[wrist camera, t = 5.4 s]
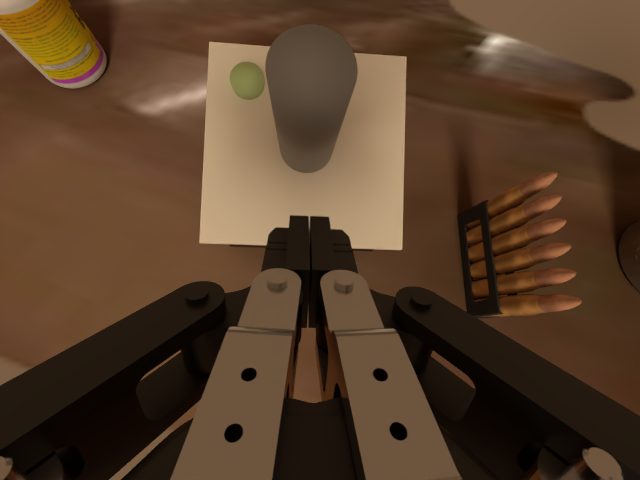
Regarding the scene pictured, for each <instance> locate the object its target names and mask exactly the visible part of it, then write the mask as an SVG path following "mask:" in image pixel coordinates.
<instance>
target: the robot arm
mask: <svg viewBox="0 0 640 480" xmlns="http://www.w3.org/2000/svg"><path fill="white" fill-rule="evenodd" d="M618 251H619V260H620V263H621V266H622V269H623V271H624V273H625V275H626V276H627V278H628V279H629V281H630V282H631V283H632V285H633V286H634V287H635V288H636V289H637V290H638V291H639V292H640V221H639V222H636V223H634V224H632V225H630V226H629V227H628V228H627V229H626V230H625V231H624V233H623V234H622V236H621V239H620V242H619V250H618ZM308 310H309V328H316V342H315V352H316V359H317V367H318V375H319V382H320V390H321V398H322V402H318V403H308V402H304V401H300V400H296V399H293V393H294V384H295V375H296V366H297V358H298V348H299V342H300V340H301V328H307V315H308ZM180 349H181V353H179V354H178V355H176V356H175V357H174V358H172V359H171V360H169V361H168V362H167V363H165V364H164V365H162V366H161V367H159V368H158V369H157V370H155V371H154V372H152V373H151V374H150V375H148V376H147V377H145V378H144V379H143V380H141V378H142V377H143V376H144V375H145V374H146V373H148V372H149V371H150V370H152V369H153V368H155V367H156V366H158V365H159V364H160V363H162V362H163V361H165V360H166V359H168V358H169V357H170V356H172V355H173V354H175V353H176V352H177V351H179V350H180ZM433 350H434V351H435V352H436V353H438V354H439V355H440V356H442V357H443V358H445V359H446V360H447V361H449V362H450V363H451V364H453V365H454V366H455V367H457V368H458V369H459V370H461V371H462V372H464V373H465V374H466V375H467V376H468V377H469V378H470V379H471V380H472V381H473V383H474V385H475V388H476V389H474V388H472V387H471V386H470V385H468V384H467V383H466V382H464V381H463V380H462V379H460V378H459V377H458V376H456V375H455V374H454V373H452V372H451V371H450V370H448V369H447V368H446V367H444V366H443V365H442V364H440V363H439V362H438V361H436V360H435V359H434V358H432V357H431V353H432V351H433ZM140 380H141V381H140ZM139 381H140V382H139ZM200 399H201V400H200ZM199 400H200V403H199V406H198V408H197V411H196V414H195V416H194V418H192V419H191V420H189V421H188V422H186V423H184V424H183V425H181V426H180V427H178V428H177V429H176V430H175V431H173V432H172V433H171V434H169V435H168V436H167V437H166V438H165V439H164V440H163V441H162V442H161V443H159V444H158V445H157V446H156V447H155V448H154V449H153V450H152V451H151V452H150V453H149V454H148V455H147V456H146V457H145V458H143V459H142V461H140V462H139V463H138V464H137V465H136V466H135V467H134V468H133V469H132V470H131V471H130V472H129V473H128V474H127V475H126V476H124V477H123V478H122V479H121V480H640V416H639V415H637V414H635V413H634V412H632V411H630V410H629V409H627V408H625V407H624V406H622V405H620V404H619V403H617V402H615V401H614V400H612V399H610V398H609V397H607V396H605V395H604V394H602V393H600V392H599V391H597V390H595V389H594V388H592V387H590V386H589V385H587V384H585V383H584V382H582V381H580V380H579V379H577V378H575V377H574V376H572V375H570V374H569V373H567V372H565V371H564V370H562V369H560V368H559V367H557V366H555V365H554V364H552V363H550V362H549V361H547V360H545V359H544V358H542V357H540V356H539V355H537V354H535V353H534V352H532V351H530V350H529V349H527V348H525V347H524V346H522V345H520V344H519V343H517V342H515V341H514V340H512V339H510V338H509V337H507V336H505V335H504V334H502V333H500V332H499V331H497V330H495V329H494V328H492V327H490V326H489V325H487V324H485V323H484V322H482V321H480V320H479V319H477V318H475V317H474V316H472V315H470V314H469V313H467V312H465V311H464V310H462V309H460V308H459V307H457V306H455V305H454V304H452V303H450V302H449V301H447V300H445V299H444V298H442V297H440V296H439V295H437V294H435V293H434V292H432V291H430V290H427V289H424V288H421V287H405V288H402V289H400V290H399V291H398V292H397V294H396V297H393V296H389V295H385V294H381V293H378V292H375V291H373V290H371V289H369V288H368V285H367V283H366V281H365V279H364V278H363V277H362V276H360V275H359V274H358V271H357V267H356V263H355V258H354V254H353V250H352V246H351V242H350V238H349V236H348V235H347V234H346V233H345V232H344V231H343V230H340V229H331V227H330V220H329V217H324V216H310V225H309V216H296V215H290V220H289V228H281V227H275V228H274V229H273V230H272V231H271V232H270V233H269V235H268V240H267V245H266V250H265V255H264V260H263V265H262V270H261V273H259V274H258V275H257V276H256V277H255V278H254V280H253V283H252V285H251V286H250V287H248V288H246V289H243V290H239V291H235V292H230V293H224V290H223V288H222V287H221V286H220V285H218V284H216V283H213V282H208V281H199V282H193V283H190V284H187V285H184V286H182V287H180V288H179V289H177V290H175V291H173V292H171V293H169V294H168V295H166V296H164V297H162V298H160V299H158V300H157V301H155V302H153V303H151V304H149V305H147V306H146V307H144V308H142V309H140V310H138V311H136V312H135V313H133V314H131V315H129V316H127V317H125V318H124V319H122V320H120V321H118V322H116V323H114V324H113V325H111V326H109V327H107V328H105V329H103V330H102V331H100V332H98V333H96V334H94V335H92V336H91V337H89V338H87V339H85V340H83V341H81V342H79V343H78V344H76V345H74V346H72V347H70V348H68V349H67V350H65V351H63V352H61V353H59V354H57V355H56V356H54V357H52V358H50V359H48V360H46V361H45V362H43V363H41V364H39V365H37V366H35V367H34V368H32V369H30V370H28V371H26V372H24V373H23V374H21V375H19V376H17V377H15V378H13V379H12V380H10V381H8V382H6V383H4V384H3V385H1V386H0V480H109V479H110V478H111V477H112V476H114V475H115V474H116V473H117V472H118V471H119V470H120V469H121V468H123V467H124V466H125V465H126V464H127V463H128V462H130V461H131V460H132V459H133V458H134V457H135V456H136V455H137V454H139V453H140V452H141V451H142V450H143V449H144V448H146V447H147V446H148V445H149V444H150V443H151V442H152V441H154V440H155V439H156V438H157V437H158V436H159V435H160V434H162V433H163V432H164V431H165V430H166V429H167V428H168V427H170V426H171V425H172V424H173V423H174V422H175V421H176V420H178V419H179V418H180V417H181V416H182V415H183V414H184V413H186V412H187V411H188V410H189V409H190V408H191V407H192V406H194V405H195V404H196V403H197V402H198V401H199Z"/></svg>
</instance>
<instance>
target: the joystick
mask: <svg viewBox="0 0 640 480" xmlns="http://www.w3.org/2000/svg"><path fill="white" fill-rule="evenodd" d="M405 98H406V57H403V56H389V55H376V54H363V53H354V52H353V50H352V48H351V46H350V45H349V43H348V42H347V41H346V40H345V39H344V38H343V37H342V36H341V35H340V34H339V33H337V32H336V31H334V30H332V29H330V28H328V27H326V26H322V25H318V24H301V25H297V26H294V27H291V28H289V29H287V30H286V31H284V32H283V33H281V34H280V35H279V36H278V37H277V38H276V39H275V41H274V42H273V43H272V45H271V47H270V46H257V45H244V44H230V43H217V42H209V59H208V79H207V100H206V120H205V140H204V161H203V181H202V201H201V221H200V242H199V243H207V244H236V245H265V246H266V245H267V240H268V235H269V233H270V232H271V231H272V230H273V229H274V228H275V227H281V228H289V220H290V215H296V216H309V225H310V216H324V217H329V220H330V227H331V229H340V230H343V231H344V232H345V233H346V234H347V235H348V236H349V238H350V242H351V246H352V249H382V250H402V234H403V189H404V144H405Z"/></svg>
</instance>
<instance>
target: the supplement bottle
mask: <svg viewBox="0 0 640 480" xmlns="http://www.w3.org/2000/svg"><path fill="white" fill-rule="evenodd" d="M0 34H1V35H2V36H3V37H5V38H6V39H7V40H8V41H9V42H10V43H11V44H12V45H13V46H14V47H15V48H16V49H17V50H18V51H19V52H20V53H21V54H22V55H23V56H24V57H25V58H26V59H27V60H28V61H29V62H30V63H31V64H32V65H34V66H35V67H36V68H37V69H38V70H39V71H40V72H41V73H42V74H43V75H44V76H45V77H46V78H47V79H48V80H49V81H51V82H52V83H54V84H56V85H58V86H61V87H64V88H81V87H85V86H87V85H90V84H92V83H93V82H95V81H96V80H97V79H99V78H100V77H101V75H102V74H103V72H104V70H105V68H106V64H107V59H106V54H105V52H104V50H103V48H102V47H101V45H100V44H99V42H98V41H97V39H96V38H95V37H94V35H93V34H92V33H91V31H90V30H89V28H88V27H87V26H86V24H85V23H84V21H83V20H82V19H81V17H80V16H79V15H78V13H77V12H76V10H75V9H74V8H73V6H72V5H71V3H70V2H69V1H68V0H0Z"/></svg>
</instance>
